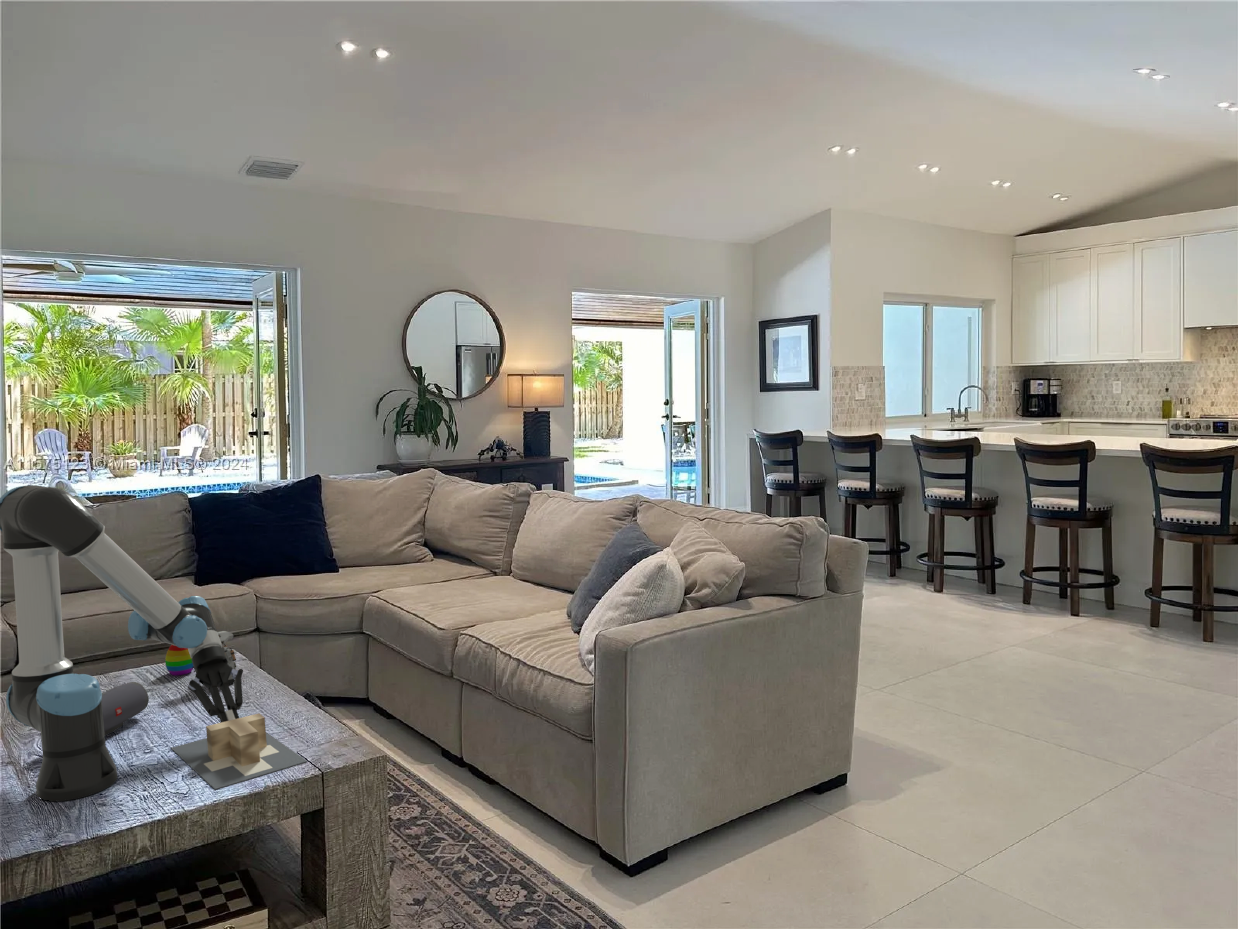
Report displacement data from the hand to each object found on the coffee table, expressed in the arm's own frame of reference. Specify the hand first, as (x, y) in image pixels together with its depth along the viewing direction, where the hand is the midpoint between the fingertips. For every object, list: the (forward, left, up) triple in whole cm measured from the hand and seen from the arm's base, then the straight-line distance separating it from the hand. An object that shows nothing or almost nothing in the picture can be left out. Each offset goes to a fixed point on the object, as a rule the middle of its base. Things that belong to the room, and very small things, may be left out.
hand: (235, 736), depth 218 cm
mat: (-2, -5, -3) cm, 6 cm away
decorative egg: (+8, +74, -3) cm, 75 cm away
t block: (-1, -7, -2) cm, 8 cm away
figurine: (+12, +55, -3) cm, 56 cm away
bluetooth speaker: (-21, +35, -3) cm, 41 cm away
